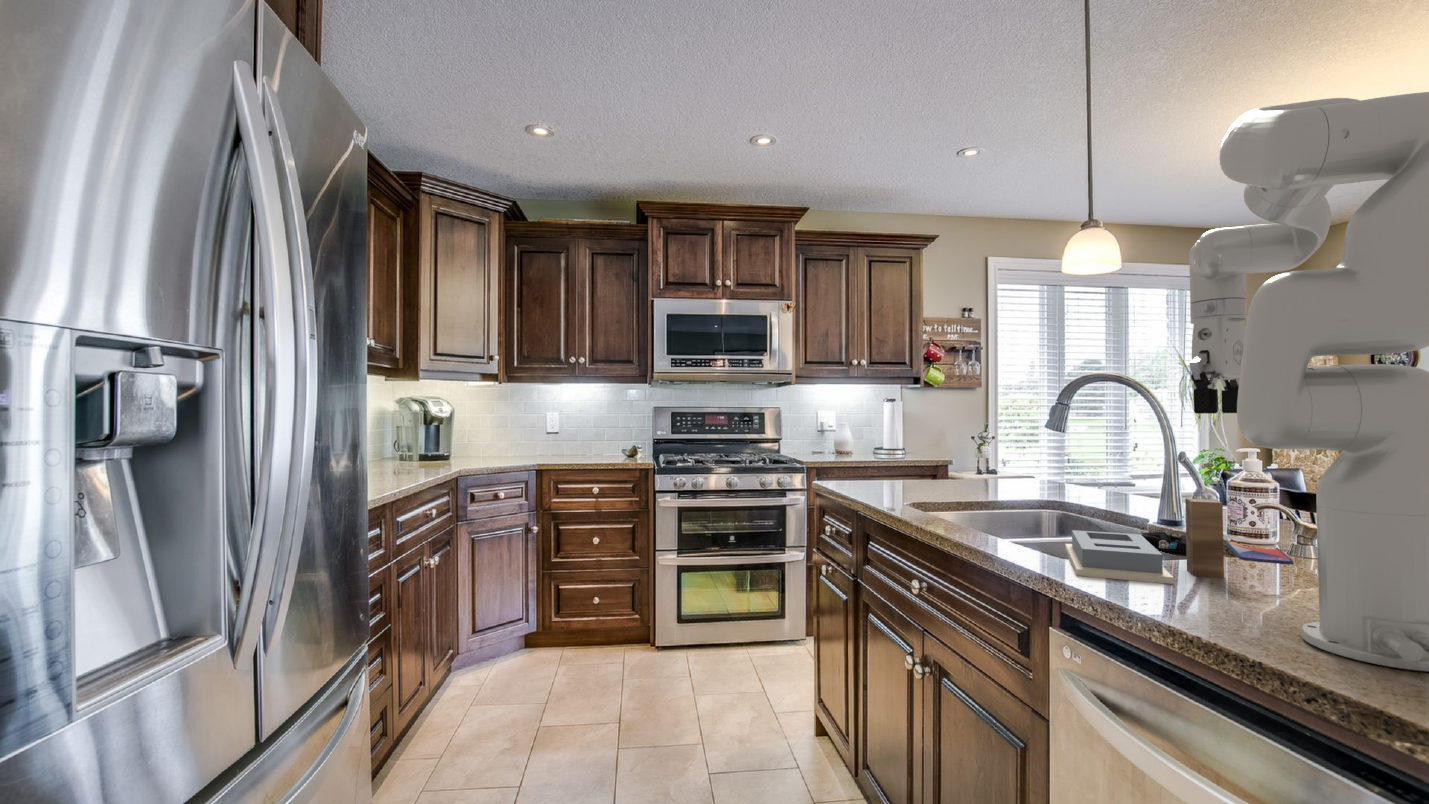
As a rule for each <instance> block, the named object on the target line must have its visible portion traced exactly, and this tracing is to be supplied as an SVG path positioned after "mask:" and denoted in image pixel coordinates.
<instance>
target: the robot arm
mask: <svg viewBox="0 0 1429 804" xmlns="http://www.w3.org/2000/svg"><path fill="white" fill-rule="evenodd" d="M1219 165H1220V168H1221V171H1222V172H1223V175H1225V176H1226V177H1227V178H1228V179H1230V180H1232V181H1234V182H1237V183H1240V184H1245V187H1244V191H1243V201H1244V203H1245V205H1246V206H1247V208H1248V210H1249V211H1250V212H1251V213H1253V214H1254V215H1255V216H1257V217H1258V218H1261V219H1263V220H1266V221H1268V222H1270V223H1264V224H1263V223H1261V224H1252V225H1251V224H1250V225H1242V226H1232V227H1221V228H1219V227H1218V228H1215V229H1209V230H1208V231H1206V232H1204V233H1202V235H1201V236H1200V237H1199V238H1198V240H1197V241H1196V242H1195V244H1194V245H1193V246H1192V247H1190V250H1189V258H1188V260H1189V266H1188V267H1189V307H1190V308H1189V310H1190V311H1189V312H1190V316H1189V317H1190V324H1193V328H1192V336H1191V337H1192V338H1191V361H1190V362H1189V369H1190V372H1191V375H1190V379H1191V380H1192V384H1191V386H1192V389H1193V412H1194V414H1218V412H1219V400H1218V399H1219V398H1218V397H1219V396H1218V394H1219V393H1218V389H1217V388H1215V387H1216V384H1217V382H1218V380H1220V382H1221V385H1222V386H1223V389H1224V390H1223V389H1222V390H1220V391H1221V412H1222V413H1223V414H1237V415H1236V417H1237V424H1238V427H1239V430H1240V432H1241V435H1242V436H1243V437H1244V438H1245V439H1246V440H1247V441H1248V442H1249V443H1251V444H1253V445H1254V446H1258V447H1260V448H1265V449H1271V450H1308V451H1309V450H1314V451H1315V450H1321V451H1324V450H1325V451H1327V450H1329V451H1340V454H1339V455H1338V456H1337V457H1336V458H1335V459H1334V460H1333V462H1332V463H1330V464H1329V466H1328V468H1327V469H1326V470H1325V471H1324V472H1323V474H1322V475H1321V477H1320V479H1319V481H1318V484H1317V488H1316V500H1315V501H1316V504H1315V505H1316V540H1317V541H1316V543H1317V545H1316V546H1317V575H1318V577H1317V580H1318V581H1317V583H1318V616H1319V618H1318V619H1319V620H1318V621H1314V622H1308V623H1305V624H1303V625H1302V626H1301V627H1300V631H1301V632H1300V633H1301V638H1302V639H1303V640H1304V641H1305V642H1306V643H1308V644H1309V645H1312V646H1314V647H1316V648H1318V649H1320V650H1323V651H1326V652H1328V653H1331V654H1335V655H1339V656H1341V657H1344V658H1349V659H1350V660H1351V659H1352V660H1356V661H1359V662H1364V663H1369V664H1373V665H1379V666H1384V667H1389V668H1396V669H1402V670H1410V671H1417V672H1429V371H1428V370H1425V369H1423V368H1420V367H1415V366H1411V365H1403V364H1392V363H1391V364H1389V363H1385V364H1384V363H1379V364H1378V363H1377V364H1376V363H1373V364H1372V363H1369V364H1365V363H1364V364H1334V365H1333V364H1332V365H1318V366H1317V365H1316V366H1314V365H1313V366H1309V363H1310V362H1311V361H1312V359H1313V358H1315V357H1329V356H1330V357H1331V356H1335V357H1336V356H1360V355H1361V356H1365V355H1367V356H1368V355H1369V356H1370V355H1387V354H1388V355H1389V354H1391V355H1392V354H1399V353H1400V354H1402V353H1410V352H1413V351H1419V350H1422V349H1425V348H1427V347H1429V91H1423V92H1414V93H1413V92H1412V93H1411V92H1410V93H1405V94H1403V93H1402V94H1396V95H1389V96H1381V97H1374V98H1367V99H1363V100H1361V99H1355V98H1349V97H1333V98H1324V99H1323V98H1322V99H1321V98H1320V99H1314V100H1309V101H1308V100H1307V101H1301V102H1291V103H1286V104H1285V103H1284V104H1277V105H1270V106H1263V107H1257V108H1253V109H1250V110H1249V111H1247V112H1244V113H1243V114H1242V115H1240V116H1239V117H1238V118H1237V119H1236V120H1234V122H1233V123H1232V124H1231V125H1230V127H1229V128H1228V130H1227V131H1226V132H1225V135H1224V137H1223V139H1222V142H1221V145H1220V150H1219ZM1382 180H1384V181H1385V180H1387V181H1386V182H1385V183H1383V184H1382V185H1381V186H1380V187H1378V188H1377V189H1376V190H1375V191H1374V192H1373V193H1372V194H1371V195H1370V196H1369V197H1367V198H1366V200H1365V201H1364V202H1363V203H1362V204H1361V205H1360V207H1359V208H1358V209H1357V210H1356V211H1355V212H1354V213H1353V215H1352V216H1351V218H1350V219H1349V221H1348V223H1347V226H1346V228H1345V229H1346V230H1345V234H1344V241H1343V242H1344V243H1343V249H1342V256H1341V259H1340V262H1339V263H1338V265H1336V267H1334V268H1333V267H1332V268H1317V269H1304V270H1303V269H1302V270H1293V269H1295V268H1297V267H1300V266H1301V265H1302V264H1304V263H1305V262H1306V261H1307V260H1309V259H1310V258H1311V257H1312V256H1313V255H1314V254H1315V253H1316V252H1317V251H1318V250H1319V249H1320V247H1322V245H1323V244H1324V242H1325V241H1326V238H1327V236H1328V233H1329V231H1330V227H1331V223H1332V213H1331V206H1330V203H1329V202H1328V199H1327V198H1326V195H1327V194H1328V193H1329V192H1330V191H1331V189H1332V188H1333V187H1334V186H1337V185H1346V184H1347V185H1348V184H1354V183H1363V182H1373V181H1382ZM1271 222H1272V223H1271ZM1290 270H1293V271H1290ZM1285 271H1286V272H1285ZM1287 271H1289V272H1287ZM1279 272H1280V274H1277V275H1275V276H1272V277H1271V278H1269V279H1268V280H1266V281H1265V282H1263V283H1262V285H1260V286H1259V288H1258V289H1257V291H1256V292H1255V294H1254V296H1253V298H1252V299H1251V302H1250V305H1249V308H1247V275H1248V274H1261V273H1262V274H1263V273H1264V274H1265V273H1279ZM1281 272H1283V273H1281ZM1247 309H1248V311H1247ZM1245 321H1246V322H1245Z"/></svg>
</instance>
